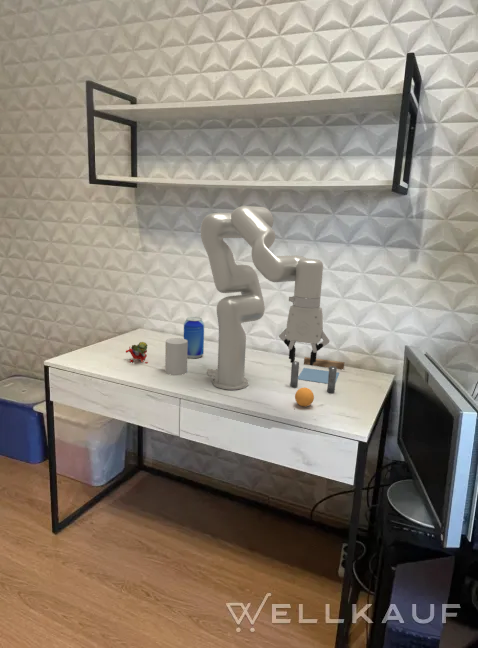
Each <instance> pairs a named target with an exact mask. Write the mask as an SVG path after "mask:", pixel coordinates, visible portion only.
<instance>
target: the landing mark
mask: <svg viewBox="0 0 478 648" xmlns="http://www.w3.org/2000/svg"><path fill="white" fill-rule="evenodd" d="M328 375H329V370H322V369H316V368H315V369H314V368H308V367H303V369H302V370H301V372H300V373H299V374H298V381H299V380H300V381H306V382H313V383H322V384H326V385H328ZM339 375H340V372H338V371H337V372H336V382H337V380H338V378H339Z"/></svg>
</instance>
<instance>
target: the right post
mask: <svg viewBox="0 0 478 648" xmlns="http://www.w3.org/2000/svg"><path fill="white" fill-rule="evenodd" d="M337 370H338V369H337V367H334V366H330V367H329V368H328V371H329V375H328V384H327V387H326V389H327V390H326V392H327V393H328V394H335V391H336V383H337V381H336V372H338V371H337Z"/></svg>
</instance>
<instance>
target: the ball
mask: <svg viewBox="0 0 478 648" xmlns="http://www.w3.org/2000/svg"><path fill="white" fill-rule="evenodd" d="M314 399H315V395H314V392H313V391H312V390H311V389H310V388H309V387H301V388H298V390H296V391H295V393H294V400H295V402H296V403H297V404H298V405H299V406H301V407H303V408H304V407H309V406H311V405H312V404H313V403H314V402H313V401H314Z"/></svg>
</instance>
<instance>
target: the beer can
mask: <svg viewBox="0 0 478 648" xmlns="http://www.w3.org/2000/svg"><path fill="white" fill-rule="evenodd" d="M183 339H186V340H187V341H188V350H187V357H188V358H187V359H199V358H202V357H203V356H204V354H205V353H204V348H205V347H204V346H205V343H204V342H205V323H204V321H203V318H202V317H200V316H199V317H197V316H189V317H186V318H185V321H184V322H183Z"/></svg>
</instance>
